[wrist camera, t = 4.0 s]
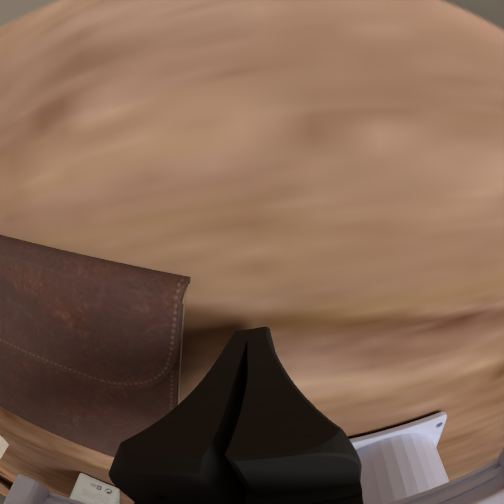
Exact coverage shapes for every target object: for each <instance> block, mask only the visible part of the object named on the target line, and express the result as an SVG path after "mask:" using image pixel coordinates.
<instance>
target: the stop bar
mask: <svg viewBox="0 0 504 504" xmlns="http://www.w3.org/2000/svg"><path fill="white" fill-rule="evenodd" d="M8 445H9V444H8V443H7V442H6V441H5V440H4V438H3V437H2V436H1V435H0V459H1V457H2V455H3V454H4V452H5V450H6V449H7V447H8Z"/></svg>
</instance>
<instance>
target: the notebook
mask: <svg viewBox="0 0 504 504" xmlns="http://www.w3.org/2000/svg"><path fill="white" fill-rule="evenodd" d="M189 283H190V277H186V276H181V275H176V274H171V273H166V272H161V271H156V270H151V269H146V268H141V267H137V266H132V265H127V264H122V263H118V262H113V261H108V260H104V259H99V258H95V257H90V256H86V255H81V254H77V253H72V252H68V251H64V250H59V249H55V248H51V247H47V246H43V245H38V244H34V243H30V242H26V241H22V240H18V239H14V238H10V237H6V236H2V235H0V406H2V407H4V408H5V409H7V410H9V411H11V412H12V413H14V414H16V415H18V416H20V417H21V418H23V419H25V420H27V421H29V422H31V423H33V424H35V425H37V426H39V427H41V428H43V429H45V430H47V431H49V432H52V433H54V434H56V435H58V436H60V437H63V438H65V439H67V440H70V441H72V442H74V443H77V444H79V445H82V446H84V447H87V448H90V449H92V450H95V451H98V452H101V453H103V454H106V455H109V456H112V457H115V455H116V452H117V450H118V448H119V445H120V443H121V442H123V441H125V440H127V439H129V438H130V437H132V436H134V435H136V434H138V433H140V432H141V431H143V430H145V429H146V428H148V427H150V426H151V425H153V424H154V423H156V422H157V421H159V420H160V419H161V418H163V417H164V416H165V415H167V414H168V413H169V412H170V411H171V410H173V409H174V408H175V407H176V406H177V405H179V398H180V376H181V358H182V342H183V328H184V315H185V303H186V292H187V286H188V284H189Z"/></svg>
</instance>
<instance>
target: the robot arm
mask: <svg viewBox="0 0 504 504" xmlns="http://www.w3.org/2000/svg"><path fill="white" fill-rule="evenodd" d="M446 419H447V415H446V413H445V412H439V413H436V414H434V415H431V416H428V417H425V418H422V419H419V420H416V421H413V422H410V423H407V424H404V425H401V426H398V427H394V428H391V429H387V430H384V431H380V432H376V433H373V434H369V435H365V436H361V437H356V438H352V439H349V438H348V437H347V436H346V434H345V433H344V431H343V430H342V429H341V428H340V427H338V426H337V425H336V424H334V423H333V422H332V421H330V420H329V419H328V418H327V417H326V416H324V415H323V414H322V413H321V412H320V411H319V410H318V409H316V407H315V406H314V405H313V404H312V403H311V402H310V401H309V400H308V399H307V398H306V397H305V396H304V395H303V394H302V393H301V392H300V390H299V389H298V388H297V387H296V385H295V384H294V383H293V381H292V380H291V379H290V377H289V376H288V374H287V373H286V371H285V369H284V368H283V366H282V364H281V363H280V361H279V359H278V357H277V355H276V353H275V349H274V345H273V341H272V337H271V333H270V329H269V328H268V327H261V328H255V329H249V330H242V331H236V332H235V333H234V334H233V335H232V337H231V339H230V340H229V342H228V344H227V345H226V347H225V348H224V350H223V352H222V353H221V355H220V356H219V358H218V359H217V361H216V362H215V364H214V365H213V367H212V368H211V369H210V371H209V372H208V373H207V374H206V376H205V377H204V378H203V380H202V381H201V382H200V383H199V384H198V386H197V387H196V388H195V389H194V390H193V391H192V392H191V393H190V394H189V395H188V396H187V397H186V398H185V399H184V400H183V401H182V402H181V403H180V404H179V405H177V406H176V407H175V408H174V409H173V410H171V411H170V412H169V413H168V414H167V415H165V416H164V417H163V418H161V419H160V420H159V421H157V422H156V423H154V424H153V425H151V426H150V427H148V428H146V429H145V430H143V431H141V432H140V433H138V434H136V435H134V436H132V437H130V438H129V439H127V440H125V441H123V442H121V443H120V445H119V448H118V450H117V452H116V455H115V458H114V460H113V463H112V466H111V468H110V471H109V477H110V479H111V481H112V482H113V483H114V484H115V486H116V487H118V488H119V489H120V490H121V491H122V492H123V493H125V494H126V495H127V496H128V497H129V498H130V499H132V500H133V501H134V502H135V503H134V504H504V449H503V450H502V451H501V452H500V454H499V456H498V458H497V459H495V460H493V461H491V462H490V463H488V464H486V465H484V466H482V467H480V468H478V469H476V470H474V471H472V472H470V473H467V474H465V475H463V476H461V477H459V478H456V479H454V480H452V481H450V482H449V480H448V478H447V475H446V472H445V470H444V467H443V464H442V462H441V459H440V457H439V454H438V452H437V449H436V446H437V443H438V441H439V438H440V435H441V433H442V430H443V427H444V425H445V422H446ZM4 504H86V503H83V502H80V501H76V500H73V499H70V498H67V497H64V496H61V495H58V494H55V493H52V492H50V491H48V489H47V488H46V487H44V486H43V485H42V484H41V483H39V482H38V481H36V480H34V479H32V478H29V477H27V476H24V475H22V474H18V475H17V477H16V479H15V481H14V483H13V485H12V487H11V489H10V491H9V493H8V495H7V497H6V499H5V501H4Z"/></svg>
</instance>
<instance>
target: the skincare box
mask: <svg viewBox="0 0 504 504" xmlns="http://www.w3.org/2000/svg"><path fill="white" fill-rule="evenodd" d="M70 499H73V500H76V501H80V502H83V503H86V504H120V490H119V488H116V487H114V486H112V485H109V484H106V483H104V482H102V481H99V480H97V479H94V478H92V477H90V476H88V475H86V474H83V473H80V474H79V476H78V478H77V481H76V483H75V486H74V488H73V490H72V493H71V495H70Z"/></svg>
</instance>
